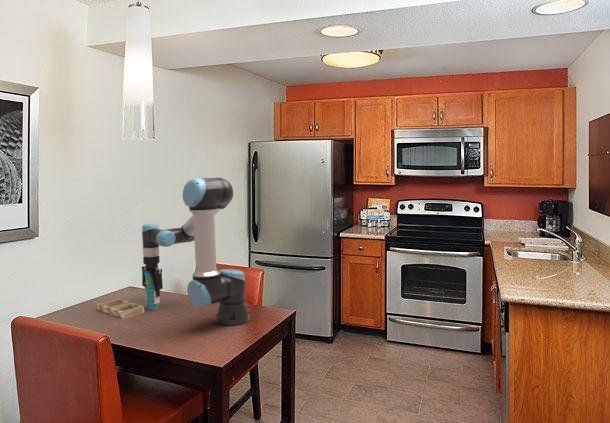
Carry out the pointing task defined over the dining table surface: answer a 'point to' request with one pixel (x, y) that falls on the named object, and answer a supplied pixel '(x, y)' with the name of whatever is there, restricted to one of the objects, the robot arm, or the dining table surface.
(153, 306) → the tube
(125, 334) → the dining table surface
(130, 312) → the wooden compartment tray
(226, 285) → the robot arm
